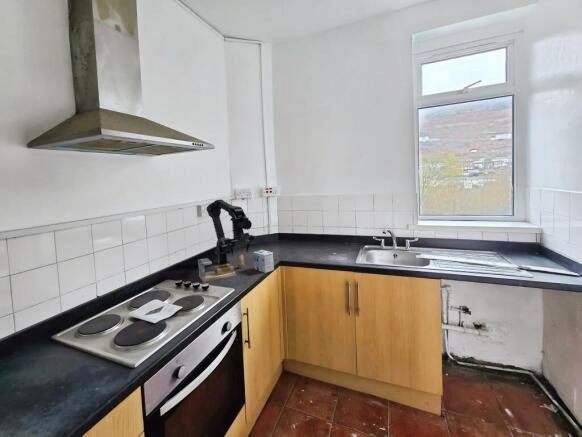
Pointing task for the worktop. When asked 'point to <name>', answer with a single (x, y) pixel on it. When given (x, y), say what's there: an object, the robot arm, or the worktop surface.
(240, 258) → the peg
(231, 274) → the awning socket
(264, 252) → the light bulb box
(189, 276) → the worktop surface
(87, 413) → the worktop surface
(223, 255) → the robot arm
